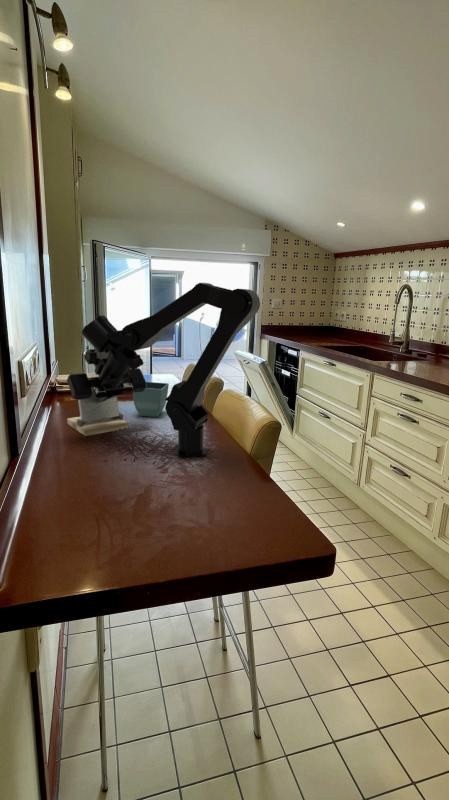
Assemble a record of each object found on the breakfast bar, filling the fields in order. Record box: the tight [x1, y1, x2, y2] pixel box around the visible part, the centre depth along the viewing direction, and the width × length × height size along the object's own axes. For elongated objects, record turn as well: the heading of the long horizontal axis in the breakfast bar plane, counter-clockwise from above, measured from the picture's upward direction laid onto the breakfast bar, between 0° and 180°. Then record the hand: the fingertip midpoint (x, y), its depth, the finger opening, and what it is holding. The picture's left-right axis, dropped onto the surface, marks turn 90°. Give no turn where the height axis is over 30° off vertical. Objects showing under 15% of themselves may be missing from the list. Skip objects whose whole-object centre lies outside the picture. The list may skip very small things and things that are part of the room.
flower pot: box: [131, 381, 170, 418], centre depth 125 cm, size 9×9×9 cm
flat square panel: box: [77, 389, 120, 425], centre depth 112 cm, size 2×10×10 cm, turn 129°
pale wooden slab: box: [66, 412, 130, 437], centre depth 114 cm, size 12×12×3 cm
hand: (99, 401), depth 111 cm, fingers closed, pressing on flat square panel
